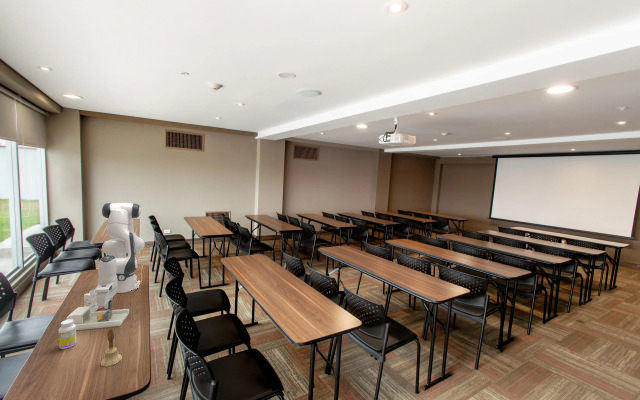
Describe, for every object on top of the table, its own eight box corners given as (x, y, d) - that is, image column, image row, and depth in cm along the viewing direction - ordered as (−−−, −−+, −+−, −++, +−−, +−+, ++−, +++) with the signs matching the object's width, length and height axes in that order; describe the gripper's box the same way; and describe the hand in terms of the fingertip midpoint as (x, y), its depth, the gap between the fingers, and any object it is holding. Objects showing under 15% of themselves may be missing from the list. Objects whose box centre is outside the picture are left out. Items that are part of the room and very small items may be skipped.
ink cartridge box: (97, 306, 179) (97, 284, 178) (103, 307, 178) (103, 285, 177) (83, 312, 171) (83, 289, 169) (90, 313, 170) (90, 290, 169)
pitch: (78, 317, 164) (78, 305, 164) (129, 313, 172) (128, 301, 172) (64, 331, 150) (64, 318, 149) (120, 325, 158) (119, 313, 158)
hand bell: (97, 368, 124) (97, 335, 123) (103, 357, 132) (103, 325, 131) (119, 364, 128) (119, 332, 126) (124, 353, 135) (124, 323, 134)
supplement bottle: (62, 342, 141) (61, 319, 140) (78, 340, 143) (78, 317, 142) (56, 350, 135) (55, 326, 133) (73, 348, 137) (72, 323, 136)
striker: (107, 317, 165) (107, 300, 164) (113, 316, 165) (112, 299, 165) (103, 321, 160) (103, 303, 159) (109, 320, 161) (109, 303, 160)
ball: (98, 318, 163) (98, 312, 162) (106, 317, 164) (106, 311, 164) (95, 322, 159) (95, 315, 159) (103, 321, 160) (103, 314, 160)
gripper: (108, 277, 170) (109, 299, 171) (93, 291, 150) (93, 315, 151) (120, 277, 172) (120, 298, 173) (107, 290, 152) (107, 314, 154)
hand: (108, 306), depth 162 cm, fingers closed on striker, 3 cm apart
